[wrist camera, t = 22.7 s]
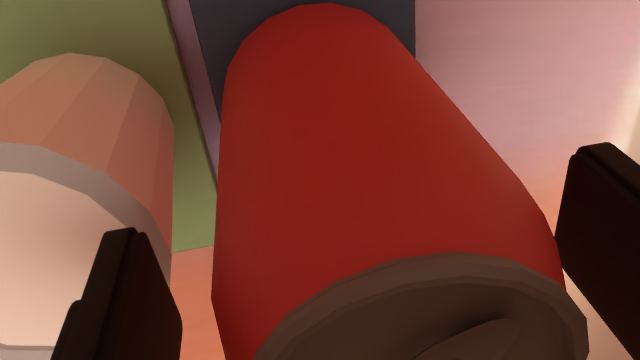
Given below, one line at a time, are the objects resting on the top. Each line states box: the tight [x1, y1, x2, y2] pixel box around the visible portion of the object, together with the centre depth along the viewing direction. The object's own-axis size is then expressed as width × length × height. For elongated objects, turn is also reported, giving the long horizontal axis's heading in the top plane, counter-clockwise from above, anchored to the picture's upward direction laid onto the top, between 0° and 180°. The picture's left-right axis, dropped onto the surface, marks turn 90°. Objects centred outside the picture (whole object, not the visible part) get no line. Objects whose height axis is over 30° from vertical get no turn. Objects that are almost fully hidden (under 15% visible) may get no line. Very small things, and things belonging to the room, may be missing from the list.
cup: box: [0, 53, 174, 360], centre depth 14 cm, size 7×7×7 cm
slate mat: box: [189, 0, 415, 123], centre depth 18 cm, size 12×7×1 cm, turn 7°
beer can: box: [211, 3, 589, 360], centre depth 13 cm, size 7×7×12 cm
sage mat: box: [0, 0, 217, 253], centre depth 18 cm, size 12×7×1 cm, turn 7°
